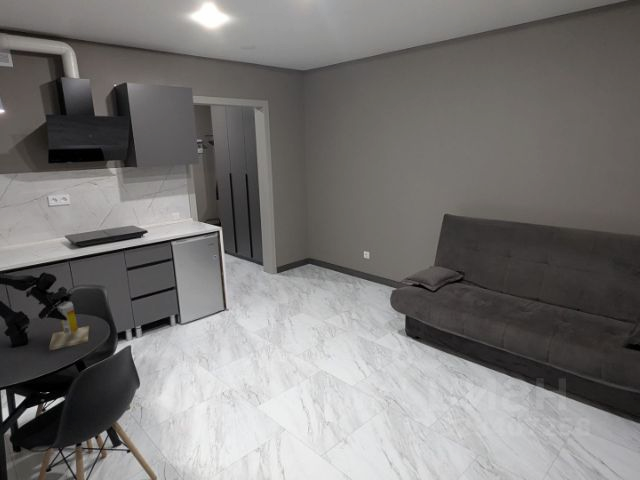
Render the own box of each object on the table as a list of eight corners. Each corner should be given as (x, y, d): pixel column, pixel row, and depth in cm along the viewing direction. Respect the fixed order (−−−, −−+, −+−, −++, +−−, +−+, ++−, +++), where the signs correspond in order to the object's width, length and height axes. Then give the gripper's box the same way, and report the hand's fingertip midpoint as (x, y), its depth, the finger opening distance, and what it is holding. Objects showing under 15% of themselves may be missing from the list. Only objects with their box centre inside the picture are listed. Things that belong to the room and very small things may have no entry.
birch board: (49, 350, 191) (48, 347, 191) (53, 336, 205) (53, 333, 205) (88, 341, 198) (87, 339, 198) (89, 328, 212) (89, 325, 212)
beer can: (80, 328, 201) (74, 300, 197) (75, 334, 195) (69, 305, 191) (66, 330, 200) (60, 302, 196) (61, 335, 194) (55, 307, 190)
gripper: (39, 292, 182) (68, 314, 185) (65, 277, 200) (91, 297, 203) (25, 308, 184) (54, 330, 187) (52, 292, 202) (78, 312, 205)
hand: (70, 316), depth 195 cm, fingers closed on beer can, 6 cm apart
